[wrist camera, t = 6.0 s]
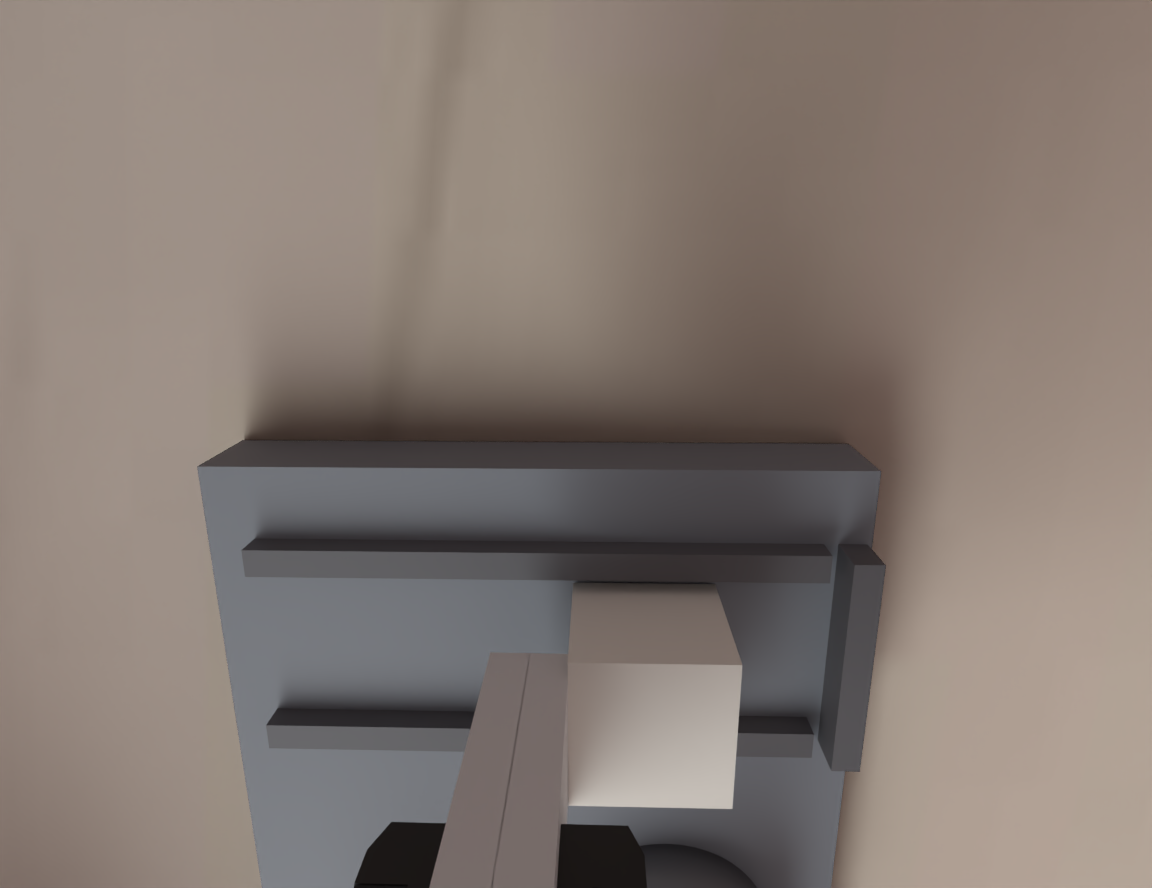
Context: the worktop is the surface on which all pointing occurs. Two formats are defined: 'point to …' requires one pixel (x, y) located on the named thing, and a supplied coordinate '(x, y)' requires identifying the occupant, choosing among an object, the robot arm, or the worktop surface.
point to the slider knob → (651, 697)
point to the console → (533, 628)
